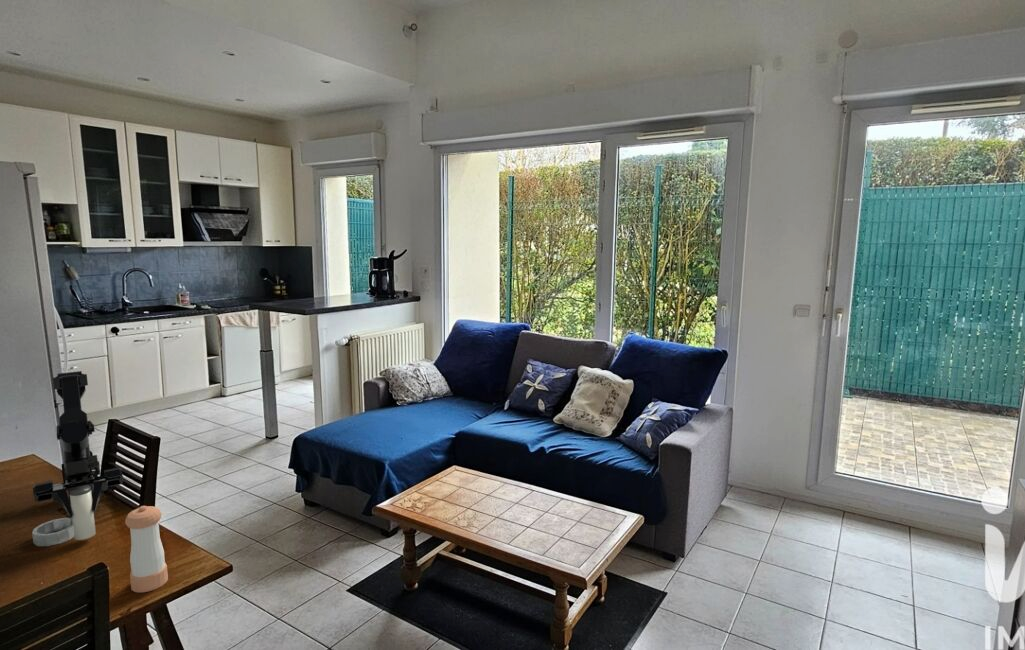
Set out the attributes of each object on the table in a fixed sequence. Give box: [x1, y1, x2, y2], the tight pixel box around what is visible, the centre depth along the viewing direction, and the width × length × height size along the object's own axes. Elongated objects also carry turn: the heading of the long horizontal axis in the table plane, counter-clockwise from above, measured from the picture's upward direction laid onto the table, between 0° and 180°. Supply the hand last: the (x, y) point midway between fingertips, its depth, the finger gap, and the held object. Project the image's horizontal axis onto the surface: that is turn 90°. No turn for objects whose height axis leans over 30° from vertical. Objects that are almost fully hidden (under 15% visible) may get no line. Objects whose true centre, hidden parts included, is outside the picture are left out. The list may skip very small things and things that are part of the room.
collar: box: [31, 517, 75, 547], centre depth 150 cm, size 9×9×3 cm
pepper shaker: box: [124, 505, 169, 593], centre depth 130 cm, size 7×7×19 cm
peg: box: [69, 485, 97, 541], centre depth 147 cm, size 4×4×13 cm
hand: (82, 514), depth 146 cm, fingers closed on peg, 4 cm apart
